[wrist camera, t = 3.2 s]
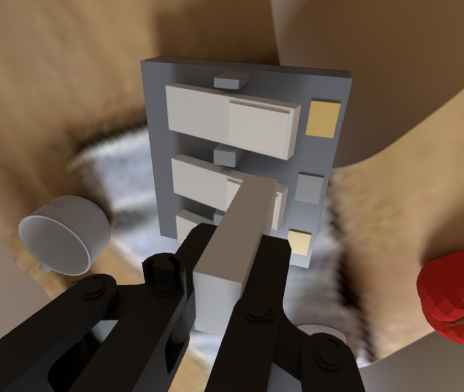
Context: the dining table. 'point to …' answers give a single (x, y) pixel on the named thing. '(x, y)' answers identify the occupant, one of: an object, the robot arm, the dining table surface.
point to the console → (286, 171)
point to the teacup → (65, 234)
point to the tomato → (444, 295)
